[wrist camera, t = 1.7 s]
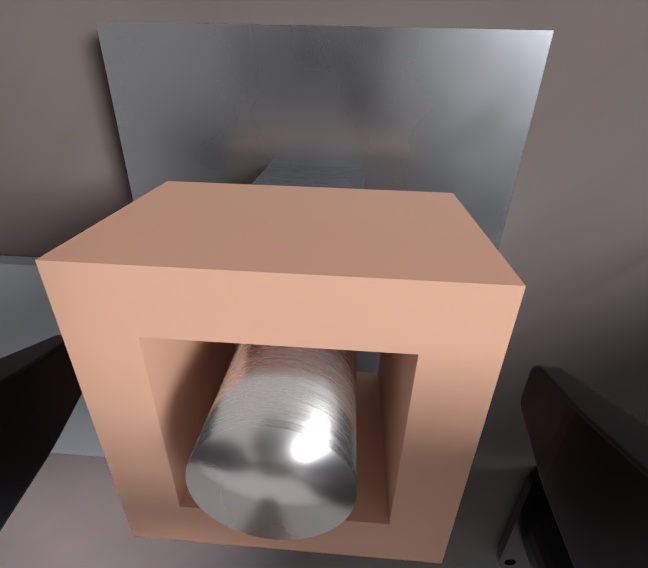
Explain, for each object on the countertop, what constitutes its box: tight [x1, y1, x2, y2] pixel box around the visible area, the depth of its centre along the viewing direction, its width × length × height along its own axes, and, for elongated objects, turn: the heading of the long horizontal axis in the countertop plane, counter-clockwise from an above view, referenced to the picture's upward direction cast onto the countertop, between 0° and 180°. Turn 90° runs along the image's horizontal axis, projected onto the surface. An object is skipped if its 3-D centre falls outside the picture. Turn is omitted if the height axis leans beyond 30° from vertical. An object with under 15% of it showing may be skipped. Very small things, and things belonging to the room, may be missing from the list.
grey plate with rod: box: [96, 21, 554, 540], centre depth 9 cm, size 12×10×8 cm
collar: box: [35, 181, 526, 563], centre depth 8 cm, size 6×6×4 cm
